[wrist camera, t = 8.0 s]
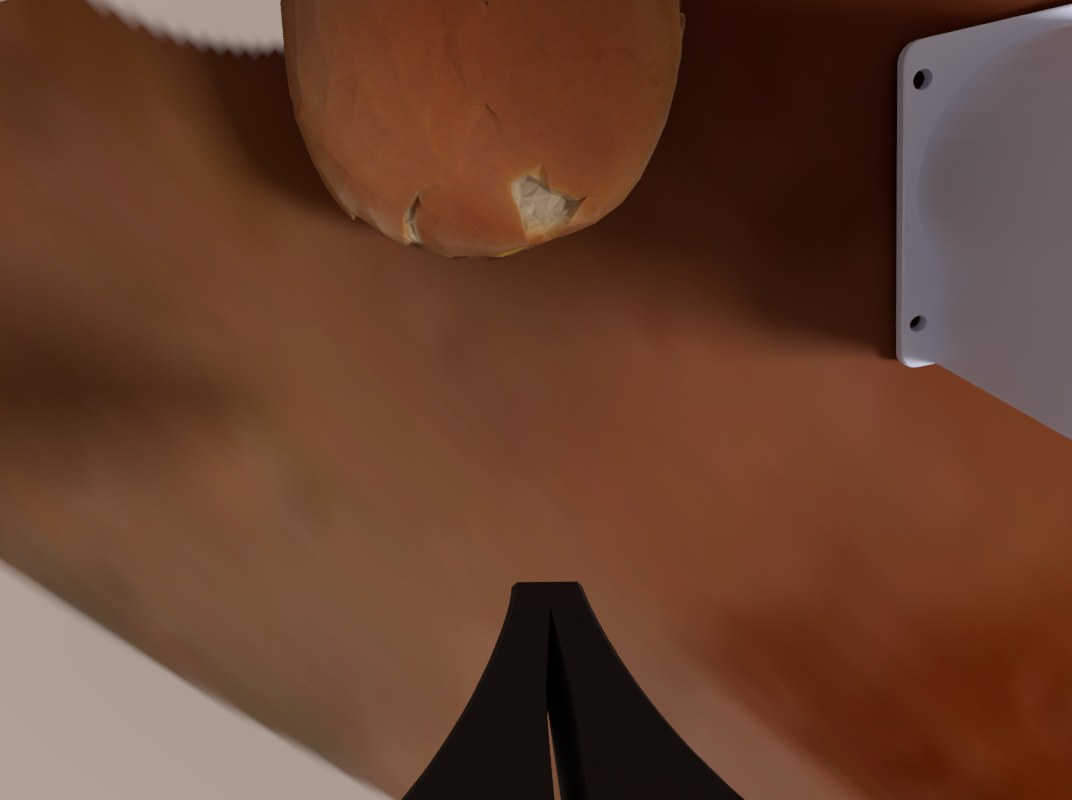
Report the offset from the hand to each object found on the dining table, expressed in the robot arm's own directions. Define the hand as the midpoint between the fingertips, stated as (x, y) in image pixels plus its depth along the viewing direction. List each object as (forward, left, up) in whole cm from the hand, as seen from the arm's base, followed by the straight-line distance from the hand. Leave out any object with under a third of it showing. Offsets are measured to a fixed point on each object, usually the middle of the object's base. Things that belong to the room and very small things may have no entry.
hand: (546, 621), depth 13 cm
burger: (+11, -1, -10) cm, 15 cm away
